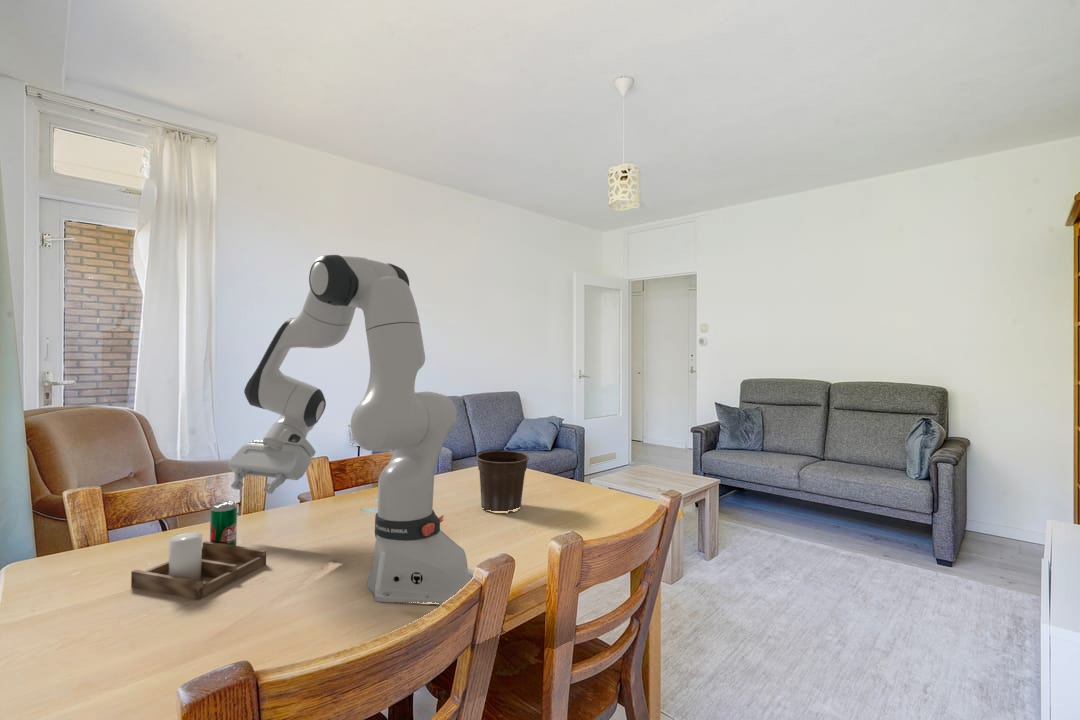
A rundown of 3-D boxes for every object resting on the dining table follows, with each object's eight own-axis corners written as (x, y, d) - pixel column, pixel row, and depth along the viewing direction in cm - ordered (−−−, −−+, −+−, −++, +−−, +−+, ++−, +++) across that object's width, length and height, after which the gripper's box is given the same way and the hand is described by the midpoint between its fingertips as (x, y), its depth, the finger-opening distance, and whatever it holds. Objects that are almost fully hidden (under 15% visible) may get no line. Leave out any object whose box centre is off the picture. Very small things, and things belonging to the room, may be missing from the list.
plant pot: (526, 517, 144) (528, 462, 144) (471, 515, 144) (472, 460, 144) (528, 501, 160) (529, 451, 160) (478, 499, 161) (480, 449, 160)
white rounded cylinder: (207, 579, 98) (208, 534, 98) (183, 591, 93) (184, 544, 93) (186, 575, 99) (187, 531, 99) (161, 587, 94) (162, 540, 94)
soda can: (223, 562, 109) (224, 508, 108) (203, 559, 110) (205, 506, 109) (241, 553, 114) (242, 501, 113) (222, 551, 115) (223, 499, 114)
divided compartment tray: (265, 569, 106) (266, 550, 106) (198, 606, 90) (198, 583, 90) (205, 560, 110) (205, 541, 110) (131, 593, 94) (131, 571, 94)
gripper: (242, 432, 128) (207, 479, 119) (309, 438, 123) (279, 487, 114) (255, 446, 133) (223, 492, 123) (321, 452, 128) (292, 501, 118)
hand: (250, 490), depth 119 cm, fingers open, 8 cm apart
